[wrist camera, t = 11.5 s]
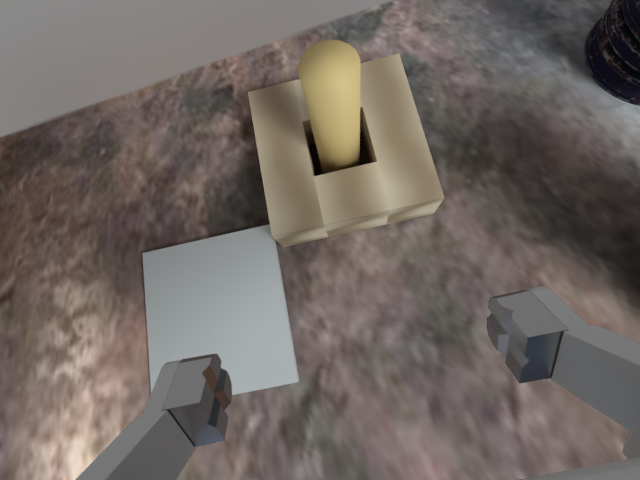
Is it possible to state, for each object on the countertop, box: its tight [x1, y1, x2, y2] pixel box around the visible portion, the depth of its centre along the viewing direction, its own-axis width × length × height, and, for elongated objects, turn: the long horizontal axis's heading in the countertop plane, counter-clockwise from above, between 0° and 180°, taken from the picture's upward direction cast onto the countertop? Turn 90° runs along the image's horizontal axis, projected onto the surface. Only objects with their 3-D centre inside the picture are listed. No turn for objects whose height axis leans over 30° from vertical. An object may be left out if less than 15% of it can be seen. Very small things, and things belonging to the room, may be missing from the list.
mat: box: [142, 224, 299, 395], centre depth 26 cm, size 11×12×1 cm
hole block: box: [248, 54, 444, 247], centre depth 26 cm, size 12×12×4 cm
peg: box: [298, 40, 361, 174], centre depth 22 cm, size 3×3×11 cm
